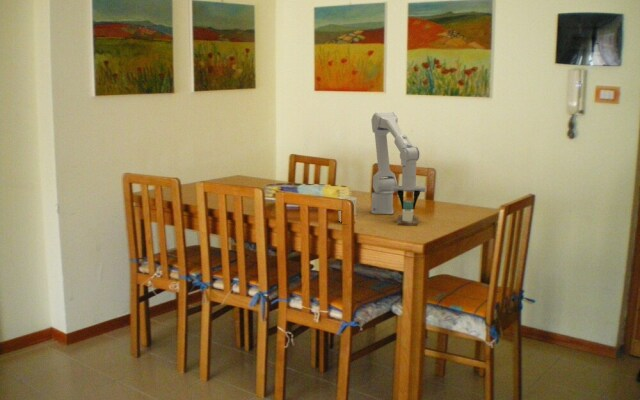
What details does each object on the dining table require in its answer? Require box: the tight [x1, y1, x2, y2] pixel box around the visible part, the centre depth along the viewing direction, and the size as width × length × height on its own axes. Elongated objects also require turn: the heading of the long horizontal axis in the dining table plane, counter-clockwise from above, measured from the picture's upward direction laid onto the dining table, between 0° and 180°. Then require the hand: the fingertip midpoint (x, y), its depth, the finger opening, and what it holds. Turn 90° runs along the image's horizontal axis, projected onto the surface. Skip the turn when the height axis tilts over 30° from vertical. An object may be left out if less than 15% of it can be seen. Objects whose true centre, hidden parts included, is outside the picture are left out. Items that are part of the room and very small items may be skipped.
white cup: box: [337, 196, 358, 223], centre depth 286 cm, size 8×8×10 cm
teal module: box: [402, 200, 414, 210], centre depth 287 cm, size 4×4×5 cm
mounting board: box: [396, 214, 419, 227], centre depth 288 cm, size 8×16×2 cm, turn 171°
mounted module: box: [402, 209, 414, 221], centre depth 282 cm, size 4×4×4 cm
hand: (408, 208), depth 287 cm, fingers closed on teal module, 4 cm apart
